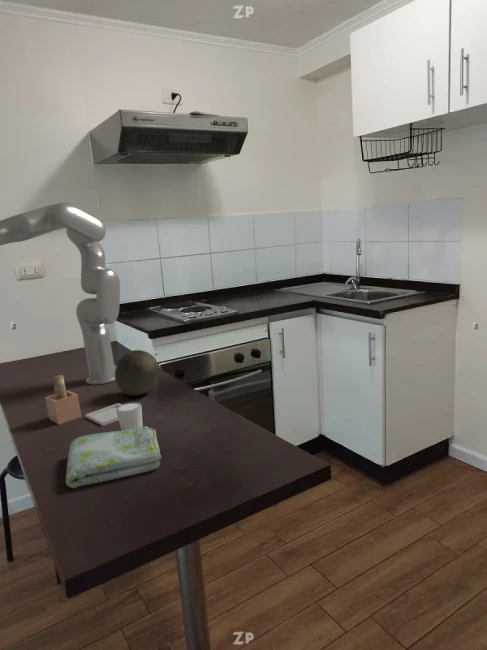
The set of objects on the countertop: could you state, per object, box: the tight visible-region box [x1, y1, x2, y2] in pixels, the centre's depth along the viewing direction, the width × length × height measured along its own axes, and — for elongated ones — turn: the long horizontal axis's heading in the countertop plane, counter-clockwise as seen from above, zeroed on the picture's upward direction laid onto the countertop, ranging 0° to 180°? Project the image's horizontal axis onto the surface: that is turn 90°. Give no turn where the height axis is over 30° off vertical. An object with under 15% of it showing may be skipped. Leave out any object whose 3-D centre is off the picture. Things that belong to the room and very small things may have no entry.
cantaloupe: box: [115, 349, 160, 397], centre depth 161 cm, size 14×14×15 cm
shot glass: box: [116, 402, 144, 431], centre depth 131 cm, size 7×7×7 cm
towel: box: [65, 425, 162, 489], centre depth 114 cm, size 18×21×5 cm
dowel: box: [52, 374, 67, 400], centre depth 144 cm, size 3×3×13 cm
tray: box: [85, 402, 123, 427], centre depth 143 cm, size 11×11×2 cm
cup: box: [44, 390, 83, 425], centre depth 145 cm, size 7×7×8 cm
